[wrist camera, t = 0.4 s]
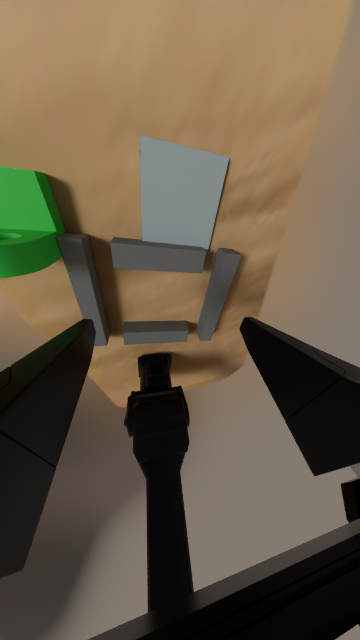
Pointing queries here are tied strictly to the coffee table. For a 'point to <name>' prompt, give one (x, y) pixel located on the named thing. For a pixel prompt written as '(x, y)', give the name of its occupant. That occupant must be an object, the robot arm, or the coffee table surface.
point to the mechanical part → (27, 223)
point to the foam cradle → (146, 258)
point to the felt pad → (179, 192)
